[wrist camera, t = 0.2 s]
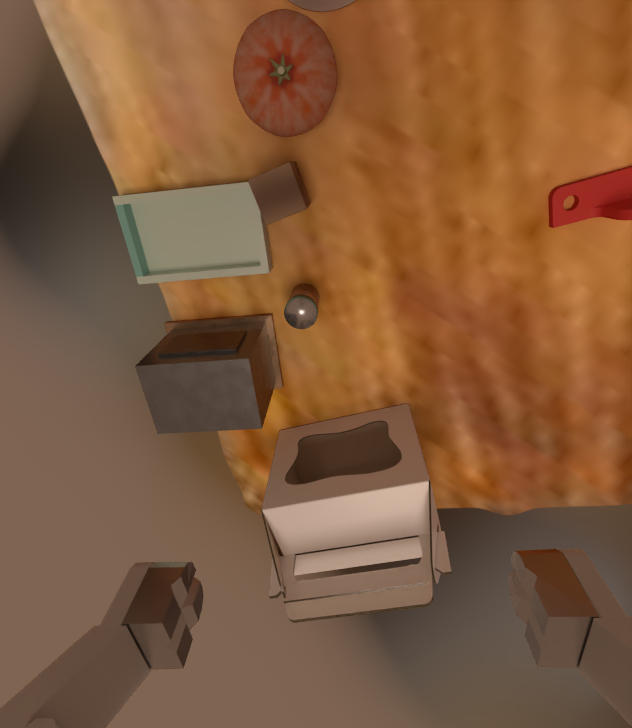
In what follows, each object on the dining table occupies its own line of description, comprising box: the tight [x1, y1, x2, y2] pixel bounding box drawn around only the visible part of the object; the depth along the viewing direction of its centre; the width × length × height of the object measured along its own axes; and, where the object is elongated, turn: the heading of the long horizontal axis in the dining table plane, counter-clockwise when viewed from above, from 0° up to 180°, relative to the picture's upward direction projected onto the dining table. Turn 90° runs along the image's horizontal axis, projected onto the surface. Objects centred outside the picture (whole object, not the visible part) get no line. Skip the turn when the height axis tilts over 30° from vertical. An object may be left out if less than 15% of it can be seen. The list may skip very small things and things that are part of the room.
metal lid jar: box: [284, 284, 319, 329], centre depth 53 cm, size 4×4×7 cm
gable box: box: [261, 404, 452, 623], centre depth 55 cm, size 22×13×28 cm, turn 106°
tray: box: [112, 182, 272, 284], centre depth 52 cm, size 11×18×3 cm, turn 96°
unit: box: [135, 314, 283, 434], centre depth 55 cm, size 12×16×13 cm
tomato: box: [233, 9, 337, 137], centre depth 42 cm, size 11×11×8 cm
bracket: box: [549, 166, 632, 228], centre depth 45 cm, size 12×4×8 cm, turn 106°
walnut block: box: [248, 162, 311, 225], centre depth 47 cm, size 5×5×7 cm
